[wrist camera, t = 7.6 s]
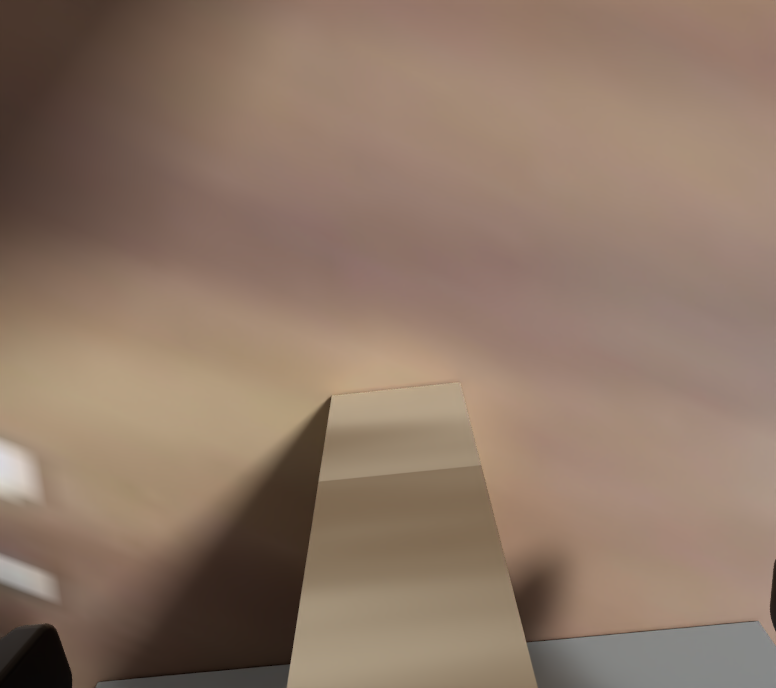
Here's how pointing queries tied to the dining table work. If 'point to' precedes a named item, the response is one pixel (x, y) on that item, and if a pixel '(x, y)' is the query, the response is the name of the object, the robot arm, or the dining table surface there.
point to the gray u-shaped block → (584, 662)
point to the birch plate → (405, 554)
